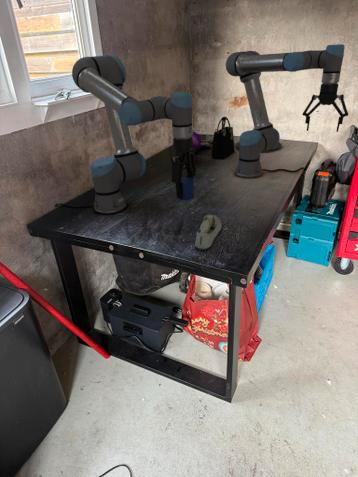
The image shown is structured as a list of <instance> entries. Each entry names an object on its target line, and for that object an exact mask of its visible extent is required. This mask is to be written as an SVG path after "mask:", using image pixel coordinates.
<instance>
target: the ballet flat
mask: <svg viewBox="0 0 358 477" xmlns="http://www.w3.org/2000/svg"><path fill="white" fill-rule="evenodd" d="M222 227H223V224H222V221H221V219H220V218H219V217H217V216H216V215H215V214H206V215H204V218H203V220H202V222H201V224H200V226H199V229H198V230H197V232H196V237H195V241H194V246H195V247H196V249H197V250H199V251H207V250H208V249H209V248H210V247H211V246H212V245H213V242H214V240H215V239H216V238H217V235H218V234H219V232H220V231H221V230H222Z"/></svg>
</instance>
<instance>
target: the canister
mask: <svg viewBox="0 0 358 477" xmlns="http://www.w3.org/2000/svg"><path fill="white" fill-rule="evenodd" d="M181 182H183V198H178V197H177V196H176V199H177V200H179V201H190V200H191V201H192V200H194V198H195V187H194V186H195V185H194V184H195V183H194V182H195V181H194V178H193V179H192V178H189V177H186V176H184V177H183V176H182V180H181Z"/></svg>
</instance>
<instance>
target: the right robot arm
mask: <svg viewBox="0 0 358 477" xmlns="http://www.w3.org/2000/svg"><path fill="white" fill-rule="evenodd" d="M345 49H346V48H345V45H344V44H343V43H342V44H341V43H339V44H338V43H337V44H327V46H326V48H325V49H323V50H321V49H320V50H319V49H318V50H317V49H316V50H310V49H309V50H304V51H292V52H279V53H264V54H260V53H259V52H258V51H255V50H247V51H246V50H244V51H235V52H232V53H231V54H229V55H228V57H227V58H226V61H225V70H226V72H227V73H228V75H230V76H231V77H239V82H240V83H242V84H243V85H244V89H245V94H246V98H247V101H248V106H249V110H250V115H251V119H252V123H253V129H250V130H246V131H243V132H242V133H241V134H240V135H239V141H238V142H239V150H238V162H237V165H236V167H235V170H234V174H235V176H236V177H239V178H243V179H255V178H259V177H261V176H262V175H263V171H264V172H269V173H275V172H278V171H284V172H287V173H298V172H299V171H301V170H304V171H307V170H308V169H307V168H306V167H304V166H301V167H300V168H297V169H296V170H295V169H294V170H289V169H286V168H277V169H276V168H275V169H272V170H271V169H265V168H262V165H261V154H262V152H264V153H266V152H265V151H268V150H271V149H273V148H275V147H276V146H277V144H278V143H279V142H280V139H281V136H280V132H279V130H278V129H276V128H274V124H273V123H272V122H270V118H269V114H268V110H267V105H266V101H265V97H264V93H263V88H262V84H261V83H262V82H261V79H260V78H261V75H262V73H275V72H278V73H279V72H290V73H296V72H300V71H307V70H322V74H321V84H320V88H319V94H317V95H316V94H312V95H311V99H310V101H309V103H308V104H307V106H306V107H305V108H304V110H303V112H302V116H303V117H305V121H304V123H305V125H306V132H309V129H310V123H311V115H312V114H313V113H314V112H315V111H316V110H317V108H319V107H320V106H331V105H332V106H333V107H334V110H335V111H337V113H338V115H339V116H338V119H337V126H336V133H339V130H340V125H343V122H344V118H345V117H348V116H349V111H348V108H347V106H346V102H345V100H344V99H345V95H344V94H338V90H339V82H340V79H341V78H340V77H341V72H342V66H343V62H344V61H343V60H344V57H345ZM317 99H318V102H317V103H316V104H315V105H314V106H313V107H312V108H311V106H312V105H313V103H314V101H316V100H317ZM337 99H338V100H339V101H340V103H341V107H342V109H343V112H344V113H343V112H342V110H341V109H340V107H339V105H338V104H337V103H336V100H337ZM310 108H311V109H310ZM309 109H310V110H309Z"/></svg>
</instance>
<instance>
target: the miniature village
mask: <svg viewBox="0 0 358 477" xmlns="http://www.w3.org/2000/svg"><path fill="white" fill-rule="evenodd" d="M235 148H236V149H237V150H238V151H239V141H238V142H236V144H235ZM281 148H282V143H281V142H280V141H279V143H278V144H277V146H276V147H275V148H273V149H271V150H268V151H265V152H262V153H271V152H276V151H279V150H280V149H281ZM262 153H261V154H262Z"/></svg>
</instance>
